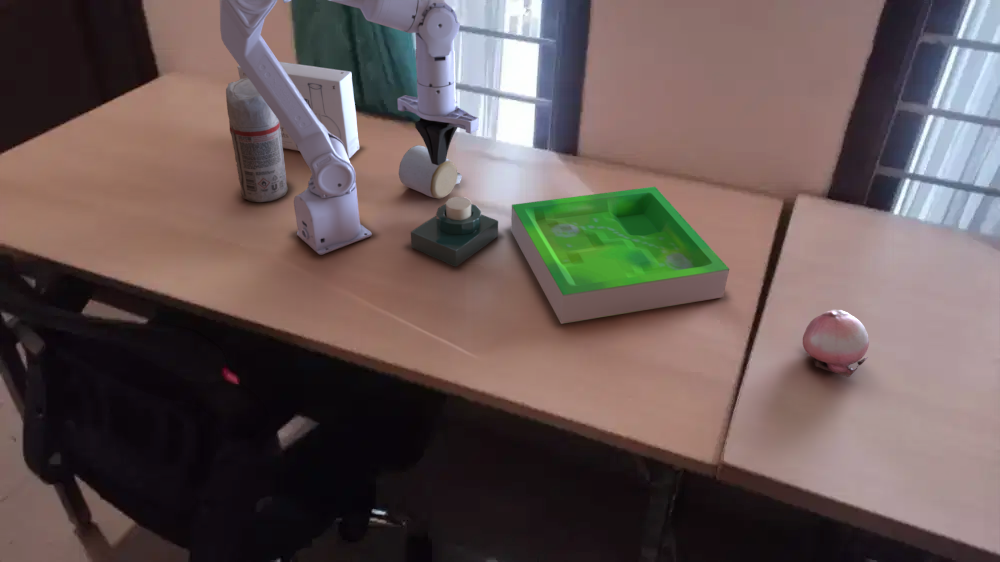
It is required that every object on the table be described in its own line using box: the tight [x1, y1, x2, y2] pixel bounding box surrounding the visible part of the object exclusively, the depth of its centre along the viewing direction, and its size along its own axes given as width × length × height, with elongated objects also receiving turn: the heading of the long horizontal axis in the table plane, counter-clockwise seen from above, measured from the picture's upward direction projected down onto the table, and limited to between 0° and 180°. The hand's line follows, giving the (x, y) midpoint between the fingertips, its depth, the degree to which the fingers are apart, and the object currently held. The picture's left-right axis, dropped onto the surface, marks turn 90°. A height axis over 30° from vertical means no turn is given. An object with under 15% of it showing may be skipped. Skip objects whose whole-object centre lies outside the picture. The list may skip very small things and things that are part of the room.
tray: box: [510, 186, 730, 325], centre depth 118 cm, size 25×25×5 cm
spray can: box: [225, 78, 289, 203], centre depth 130 cm, size 8×8×20 cm
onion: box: [802, 309, 870, 378], centre depth 99 cm, size 8×8×7 cm
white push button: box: [445, 196, 472, 220], centre depth 121 cm, size 4×4×2 cm
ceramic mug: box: [398, 144, 462, 200], centre depth 136 cm, size 11×8×8 cm
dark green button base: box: [410, 203, 499, 268], centre depth 122 cm, size 11×9×5 cm
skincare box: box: [236, 61, 360, 159], centre depth 146 cm, size 21×6×16 cm, turn 73°
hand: (438, 162), depth 124 cm, fingers closed
